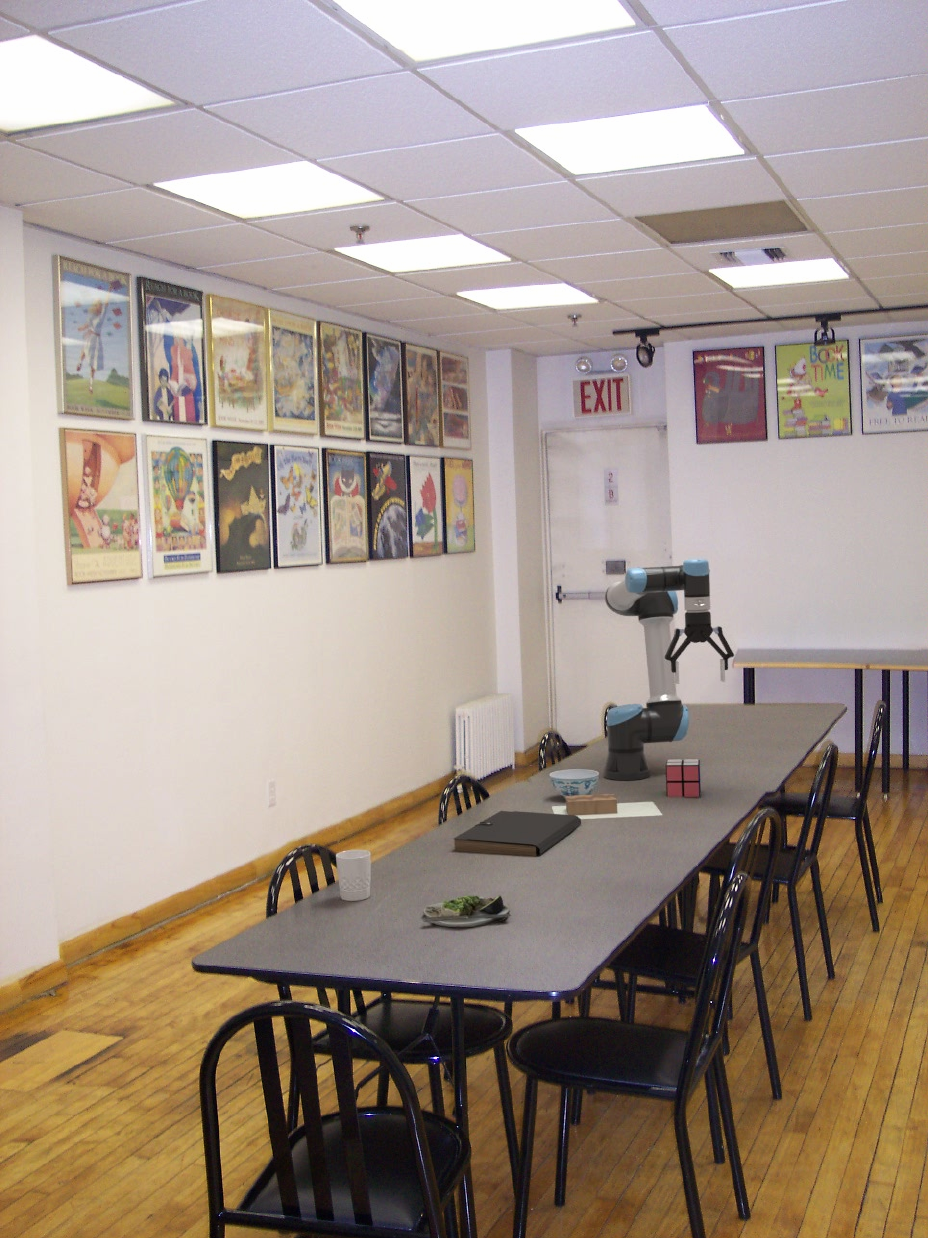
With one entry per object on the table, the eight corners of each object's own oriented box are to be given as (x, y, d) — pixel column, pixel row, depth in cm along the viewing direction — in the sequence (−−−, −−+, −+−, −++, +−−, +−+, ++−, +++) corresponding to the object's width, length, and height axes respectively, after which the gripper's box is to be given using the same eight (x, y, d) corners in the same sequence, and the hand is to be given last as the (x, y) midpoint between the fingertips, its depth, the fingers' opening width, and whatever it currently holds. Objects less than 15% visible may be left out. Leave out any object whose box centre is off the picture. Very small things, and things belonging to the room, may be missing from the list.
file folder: (500, 809, 348) (581, 814, 338) (500, 823, 348) (581, 829, 338) (452, 837, 318) (539, 843, 308) (452, 852, 318) (540, 860, 308)
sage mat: (551, 807, 363) (551, 806, 363) (652, 803, 363) (652, 801, 363) (556, 821, 345) (556, 820, 345) (662, 816, 345) (662, 815, 345)
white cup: (338, 893, 284) (336, 851, 283) (372, 891, 285) (370, 848, 284) (337, 903, 276) (335, 859, 275) (372, 901, 277) (370, 857, 276)
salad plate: (439, 939, 249) (438, 916, 249) (403, 916, 265) (402, 895, 264) (522, 922, 258) (521, 900, 257) (482, 901, 274) (481, 881, 273)
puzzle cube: (700, 798, 367) (699, 765, 366) (666, 798, 369) (665, 765, 368) (700, 791, 377) (699, 759, 376) (667, 791, 379) (666, 759, 378)
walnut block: (614, 807, 358) (566, 809, 358) (613, 793, 358) (565, 796, 358) (617, 813, 350) (568, 815, 350) (616, 799, 350) (567, 801, 350)
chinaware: (609, 797, 374) (608, 772, 374) (579, 806, 363) (578, 780, 363) (570, 791, 385) (569, 767, 384) (540, 800, 374) (539, 775, 373)
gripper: (657, 613, 360) (660, 685, 361) (742, 609, 360) (744, 681, 361) (653, 612, 367) (656, 682, 369) (736, 608, 367) (739, 678, 369)
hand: (700, 682), depth 365 cm, fingers open, 13 cm apart
